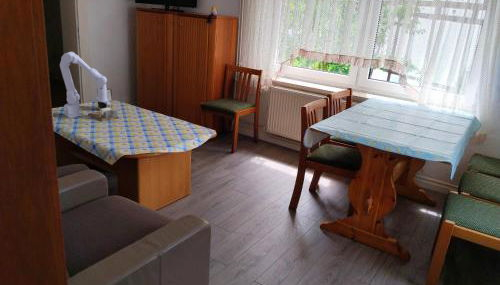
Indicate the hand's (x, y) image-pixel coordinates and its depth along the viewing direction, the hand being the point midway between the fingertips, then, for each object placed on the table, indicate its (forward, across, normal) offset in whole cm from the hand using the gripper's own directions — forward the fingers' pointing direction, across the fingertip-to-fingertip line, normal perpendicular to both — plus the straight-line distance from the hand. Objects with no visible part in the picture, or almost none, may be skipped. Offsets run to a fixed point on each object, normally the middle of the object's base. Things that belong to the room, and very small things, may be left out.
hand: (103, 112), depth 277 cm
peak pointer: (+2, -6, +5) cm, 8 cm away
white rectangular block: (+2, -3, +1) cm, 4 cm away
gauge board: (+3, 0, 0) cm, 3 cm away
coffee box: (+4, +17, -12) cm, 21 cm away
